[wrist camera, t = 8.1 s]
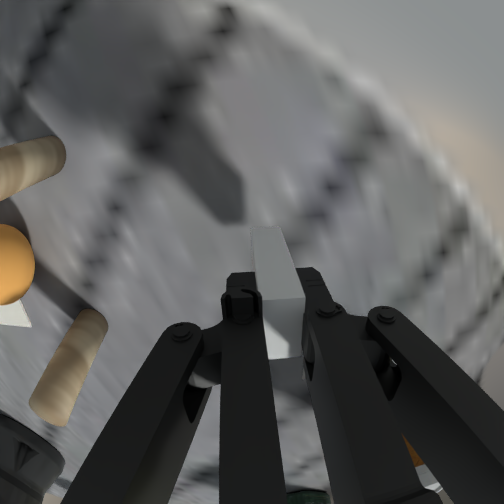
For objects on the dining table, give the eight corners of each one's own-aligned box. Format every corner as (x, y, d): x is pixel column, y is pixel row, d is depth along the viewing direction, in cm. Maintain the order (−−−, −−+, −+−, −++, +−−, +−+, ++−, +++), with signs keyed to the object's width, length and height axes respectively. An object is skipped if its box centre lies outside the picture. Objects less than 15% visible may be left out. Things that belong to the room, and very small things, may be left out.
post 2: (84, 334, 21) (41, 421, 13) (74, 308, 20) (21, 395, 12) (112, 336, 21) (73, 429, 13) (102, 308, 20) (53, 402, 12)
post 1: (38, 178, 16) (-58, 230, 8) (33, 140, 15) (-70, 173, 7) (68, 172, 16) (-30, 223, 8) (63, 131, 15) (-43, 159, 7)
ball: (44, 274, 20) (-12, 293, 17) (26, 207, 18) (-33, 228, 15) (45, 307, 16) (-21, 329, 13) (19, 225, 14) (-53, 251, 11)
